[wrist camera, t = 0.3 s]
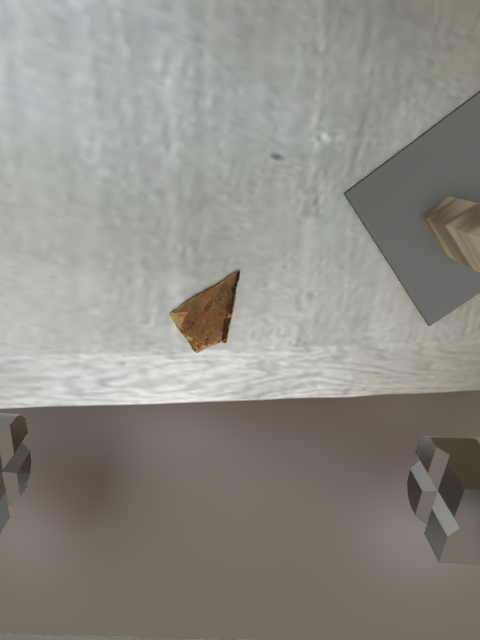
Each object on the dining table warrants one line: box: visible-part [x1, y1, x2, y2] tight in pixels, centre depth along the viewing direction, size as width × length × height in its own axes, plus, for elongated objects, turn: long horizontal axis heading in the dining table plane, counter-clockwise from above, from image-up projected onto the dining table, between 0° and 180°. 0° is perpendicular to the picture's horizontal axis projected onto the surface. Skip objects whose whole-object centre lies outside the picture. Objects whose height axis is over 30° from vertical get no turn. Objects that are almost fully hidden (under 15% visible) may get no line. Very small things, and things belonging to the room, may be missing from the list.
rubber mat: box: [344, 92, 480, 326], centre depth 55 cm, size 26×22×1 cm
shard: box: [170, 271, 240, 353], centre depth 58 cm, size 11×8×2 cm
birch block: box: [420, 196, 480, 272], centre depth 49 cm, size 4×6×14 cm, turn 37°
